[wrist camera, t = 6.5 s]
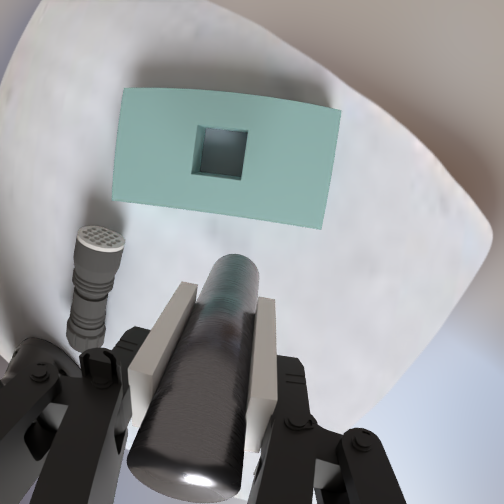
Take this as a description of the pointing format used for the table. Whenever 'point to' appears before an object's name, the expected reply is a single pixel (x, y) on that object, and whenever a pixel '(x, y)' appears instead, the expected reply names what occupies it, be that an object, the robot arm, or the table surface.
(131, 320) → the table surface
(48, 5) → the table surface
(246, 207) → the hole block
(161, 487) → the peg
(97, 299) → the flashlight
